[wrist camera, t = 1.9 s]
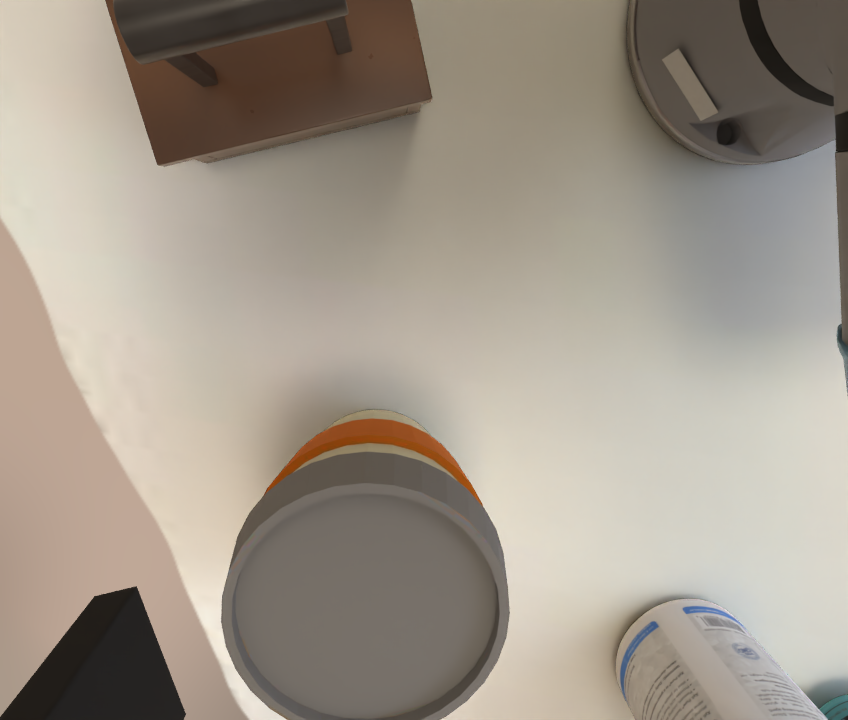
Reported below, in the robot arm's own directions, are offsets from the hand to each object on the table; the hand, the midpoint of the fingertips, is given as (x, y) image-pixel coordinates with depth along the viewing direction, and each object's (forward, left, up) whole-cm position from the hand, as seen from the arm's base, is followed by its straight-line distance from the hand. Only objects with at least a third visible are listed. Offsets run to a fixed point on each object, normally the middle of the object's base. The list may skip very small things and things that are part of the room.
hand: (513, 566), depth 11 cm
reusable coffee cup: (+7, +8, -29) cm, 31 cm away
